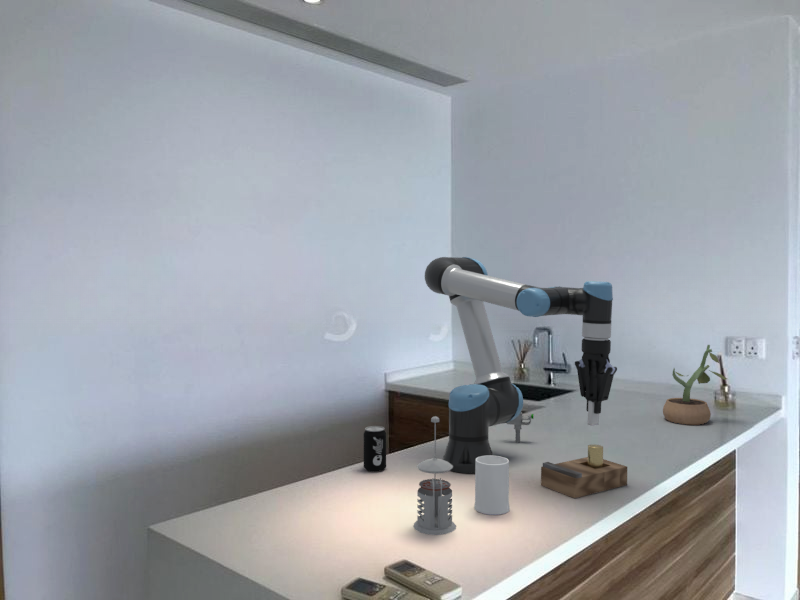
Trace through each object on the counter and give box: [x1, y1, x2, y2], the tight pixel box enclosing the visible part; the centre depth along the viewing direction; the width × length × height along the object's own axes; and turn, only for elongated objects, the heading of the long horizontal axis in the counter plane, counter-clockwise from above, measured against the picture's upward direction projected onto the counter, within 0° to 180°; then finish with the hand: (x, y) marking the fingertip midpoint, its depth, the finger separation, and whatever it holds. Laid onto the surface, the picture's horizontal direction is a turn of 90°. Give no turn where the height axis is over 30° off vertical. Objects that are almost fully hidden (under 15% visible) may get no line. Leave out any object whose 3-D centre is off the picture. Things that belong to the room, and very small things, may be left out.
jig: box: [540, 456, 628, 499], centre depth 176 cm, size 20×12×6 cm, turn 122°
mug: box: [473, 454, 511, 516], centre depth 159 cm, size 12×8×12 cm
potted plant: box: [662, 344, 728, 426], centre depth 250 cm, size 22×18×30 cm
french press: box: [412, 415, 457, 536], centre depth 146 cm, size 10×12×25 cm
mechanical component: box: [506, 411, 534, 444], centre depth 220 cm, size 3×10×10 cm, turn 79°
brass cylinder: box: [587, 443, 604, 469], centre depth 178 cm, size 4×4×10 cm
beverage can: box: [363, 425, 387, 473], centre depth 190 cm, size 7×7×12 cm
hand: (593, 424), depth 178 cm, fingers closed
